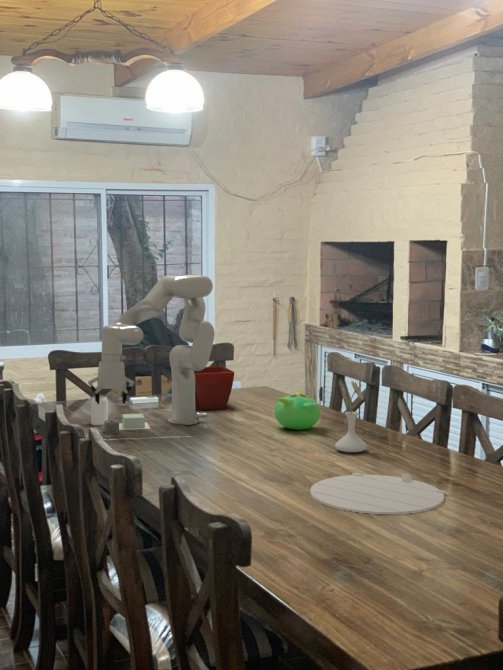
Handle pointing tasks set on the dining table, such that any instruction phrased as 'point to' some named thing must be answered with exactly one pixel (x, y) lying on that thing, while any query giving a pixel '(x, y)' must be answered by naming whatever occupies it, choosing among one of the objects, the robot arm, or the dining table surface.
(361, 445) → the flower in vase
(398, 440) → the dining table surface
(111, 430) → the dice cube
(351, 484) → the lazy susan
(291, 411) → the toy bird
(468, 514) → the dining table surface
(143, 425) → the sage brick
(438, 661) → the dining table surface
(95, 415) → the can
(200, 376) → the plant pot
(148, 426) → the baseplate
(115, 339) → the robot arm
